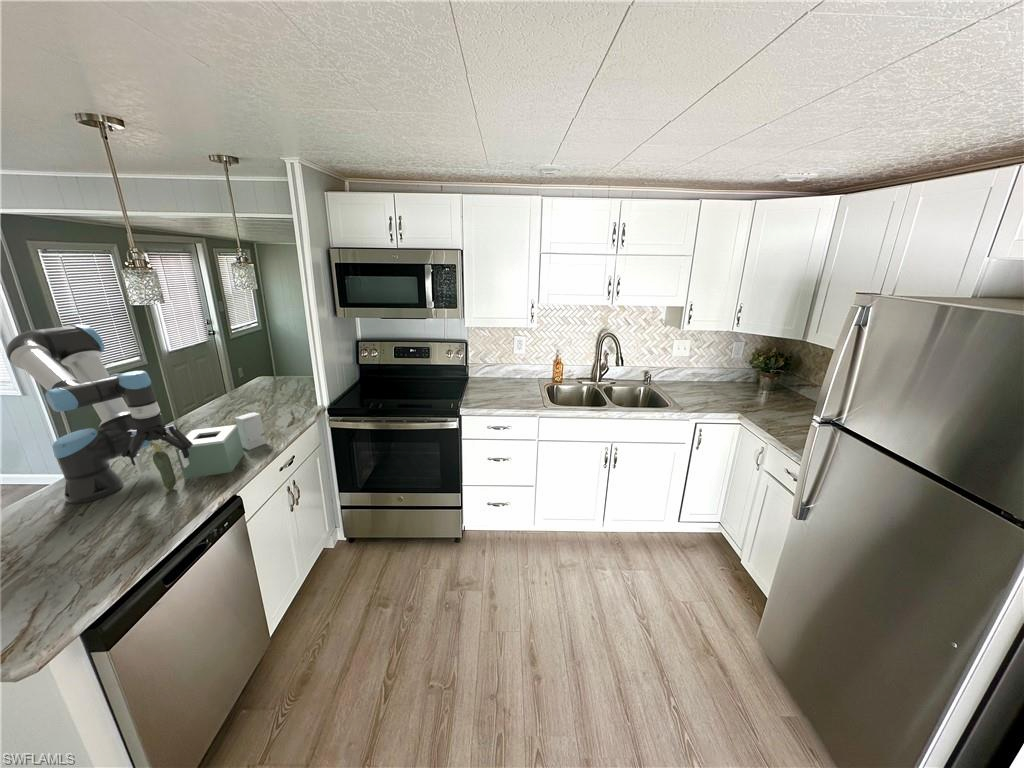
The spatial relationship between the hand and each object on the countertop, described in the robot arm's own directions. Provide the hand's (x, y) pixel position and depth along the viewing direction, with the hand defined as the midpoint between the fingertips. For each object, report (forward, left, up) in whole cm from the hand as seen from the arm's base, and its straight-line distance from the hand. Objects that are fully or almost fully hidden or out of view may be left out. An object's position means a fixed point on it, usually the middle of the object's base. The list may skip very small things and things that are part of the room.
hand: (164, 469), depth 146 cm
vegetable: (0, 0, -9) cm, 9 cm away
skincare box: (+19, +32, -9) cm, 38 cm away
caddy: (+9, +16, -9) cm, 20 cm away
